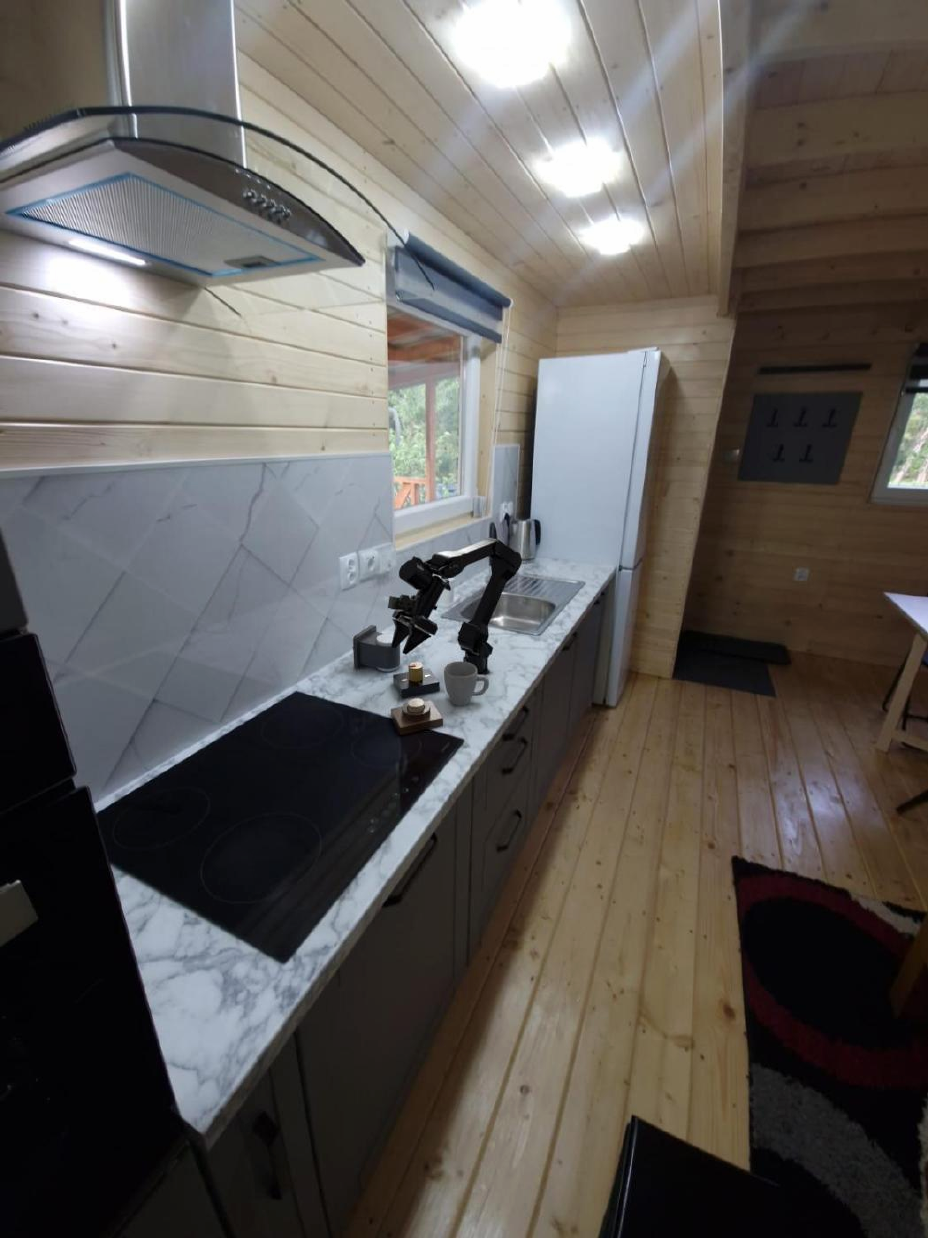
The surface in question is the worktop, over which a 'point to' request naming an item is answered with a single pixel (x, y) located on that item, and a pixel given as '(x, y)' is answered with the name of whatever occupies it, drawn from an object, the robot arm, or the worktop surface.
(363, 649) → the light fixture
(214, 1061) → the worktop surface
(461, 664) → the mug
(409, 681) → the dimmer panel
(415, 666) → the dimmer knob
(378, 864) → the worktop surface
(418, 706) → the button
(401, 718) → the switch block
